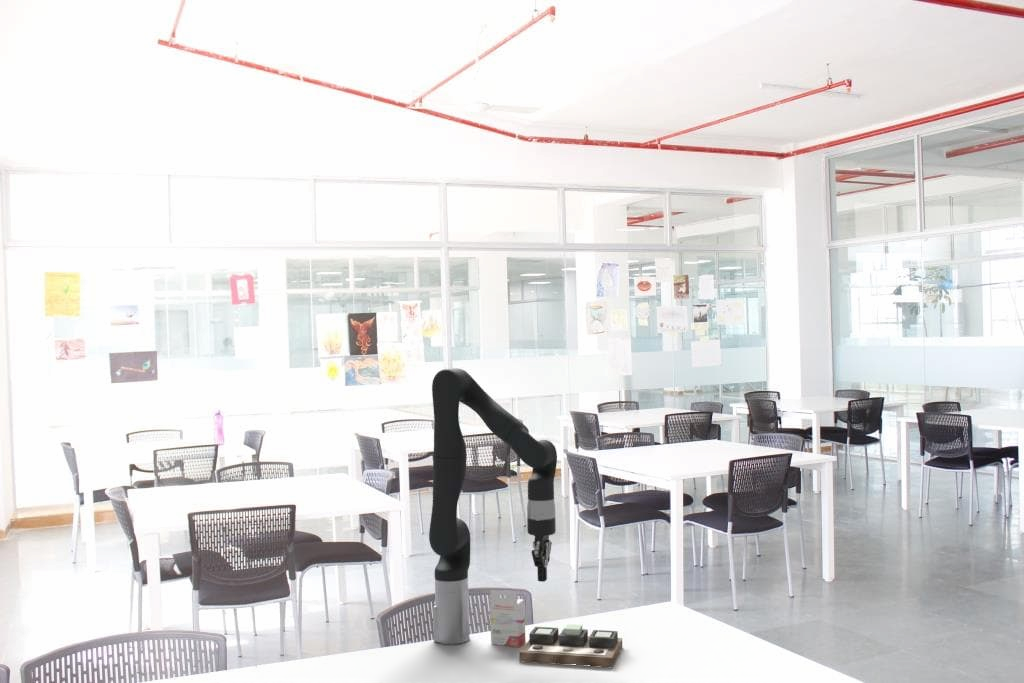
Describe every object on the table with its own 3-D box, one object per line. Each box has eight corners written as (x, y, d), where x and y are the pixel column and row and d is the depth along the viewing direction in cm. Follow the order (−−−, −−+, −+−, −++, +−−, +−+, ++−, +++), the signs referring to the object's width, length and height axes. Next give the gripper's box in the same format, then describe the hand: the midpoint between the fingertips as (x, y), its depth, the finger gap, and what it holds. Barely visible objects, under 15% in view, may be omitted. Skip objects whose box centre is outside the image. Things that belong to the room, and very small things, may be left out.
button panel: (519, 661, 239) (519, 642, 239) (535, 642, 255) (534, 624, 255) (612, 667, 233) (611, 647, 233) (622, 647, 248) (621, 628, 248)
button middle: (564, 636, 245) (564, 628, 245) (567, 631, 249) (567, 624, 249) (579, 637, 244) (579, 629, 244) (582, 632, 248) (582, 625, 248)
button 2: (594, 643, 243) (594, 636, 243) (597, 639, 246) (597, 631, 246) (609, 644, 241) (609, 637, 242) (612, 640, 245) (612, 632, 245)
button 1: (535, 640, 247) (534, 632, 247) (538, 635, 251) (538, 628, 251) (549, 641, 246) (549, 633, 246) (553, 636, 250) (553, 629, 250)
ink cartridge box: (526, 642, 255) (524, 588, 255) (519, 647, 251) (518, 592, 251) (497, 639, 258) (496, 585, 259) (490, 644, 254) (488, 590, 254)
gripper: (533, 510, 256) (534, 574, 256) (521, 519, 243) (522, 586, 243) (560, 511, 254) (561, 575, 254) (549, 520, 241) (550, 588, 241)
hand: (542, 580), depth 248 cm, fingers closed
